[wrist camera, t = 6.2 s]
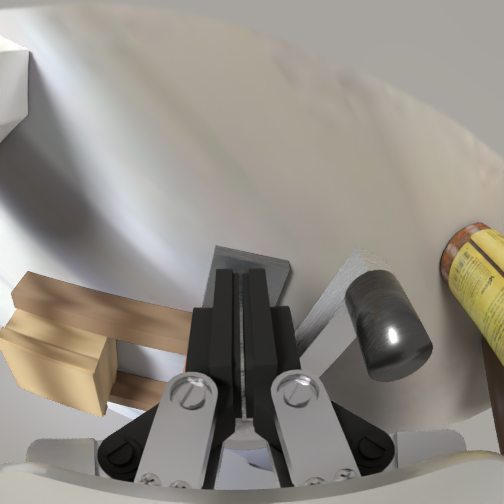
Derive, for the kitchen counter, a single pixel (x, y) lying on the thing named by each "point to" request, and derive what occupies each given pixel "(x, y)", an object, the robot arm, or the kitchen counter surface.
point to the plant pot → (495, 389)
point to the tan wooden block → (60, 361)
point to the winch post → (241, 264)
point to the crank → (355, 331)
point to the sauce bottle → (478, 279)
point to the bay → (110, 327)
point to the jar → (12, 85)
